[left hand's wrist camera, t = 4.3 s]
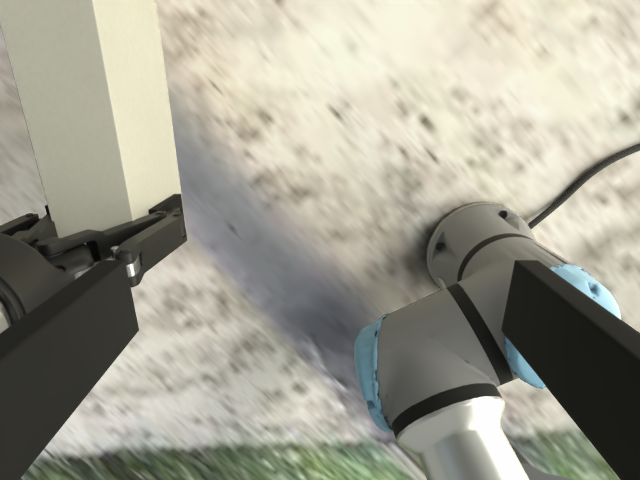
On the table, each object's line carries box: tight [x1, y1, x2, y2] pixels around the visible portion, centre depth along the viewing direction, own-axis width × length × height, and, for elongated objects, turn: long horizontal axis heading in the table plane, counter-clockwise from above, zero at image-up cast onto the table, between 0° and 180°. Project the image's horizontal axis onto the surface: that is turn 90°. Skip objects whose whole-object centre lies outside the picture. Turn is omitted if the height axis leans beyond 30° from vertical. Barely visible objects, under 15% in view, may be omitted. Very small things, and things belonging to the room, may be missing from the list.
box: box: [0, 0, 186, 244], centre depth 34 cm, size 23×7×12 cm, turn 0°
